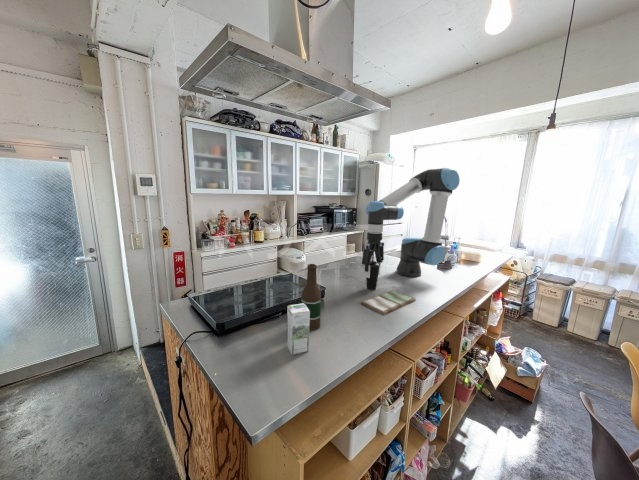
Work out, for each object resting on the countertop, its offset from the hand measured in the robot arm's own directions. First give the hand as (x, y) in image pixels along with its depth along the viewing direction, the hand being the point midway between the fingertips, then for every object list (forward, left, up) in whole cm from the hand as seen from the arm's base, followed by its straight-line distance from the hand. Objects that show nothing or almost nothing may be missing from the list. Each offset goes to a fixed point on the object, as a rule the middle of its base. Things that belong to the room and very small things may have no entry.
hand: (372, 275), depth 131 cm
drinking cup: (0, 0, -7) cm, 7 cm away
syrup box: (+59, +19, -8) cm, 63 cm away
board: (+5, +15, -8) cm, 18 cm away
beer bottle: (+47, +10, -8) cm, 49 cm away
